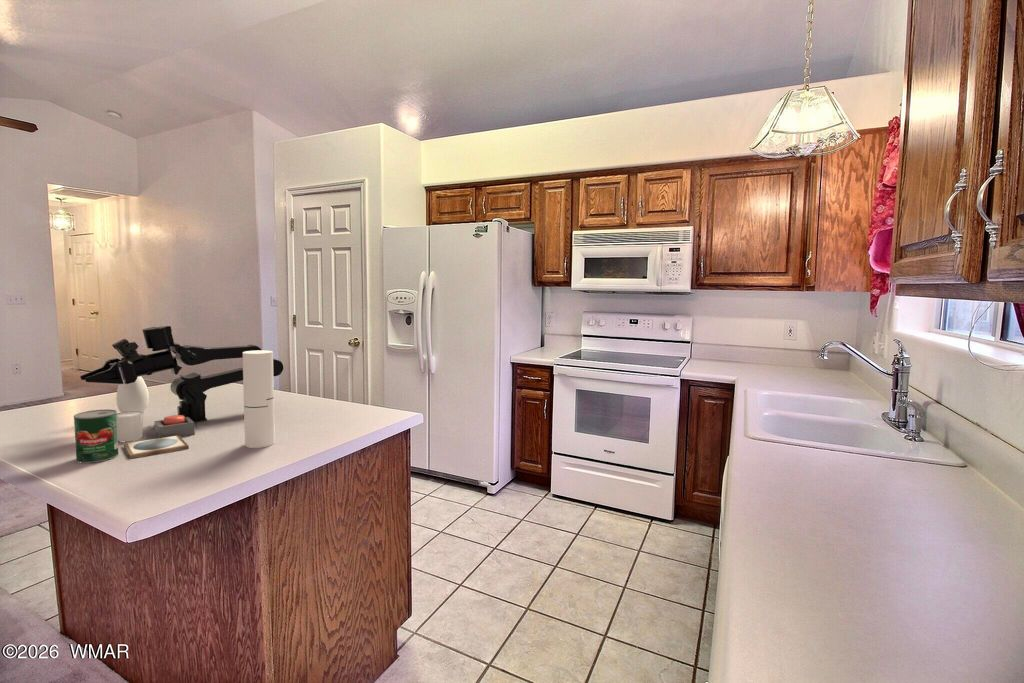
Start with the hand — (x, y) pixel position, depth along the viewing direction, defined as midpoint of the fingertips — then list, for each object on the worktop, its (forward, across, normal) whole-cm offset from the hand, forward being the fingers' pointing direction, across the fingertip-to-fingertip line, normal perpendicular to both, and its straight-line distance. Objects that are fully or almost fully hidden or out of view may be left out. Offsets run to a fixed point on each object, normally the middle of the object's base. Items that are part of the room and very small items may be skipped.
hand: (83, 379), depth 131 cm
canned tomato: (+4, +21, +18) cm, 28 cm away
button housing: (-14, +11, +20) cm, 27 cm away
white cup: (-4, +8, +18) cm, 20 cm away
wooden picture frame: (-8, +22, +19) cm, 30 cm away
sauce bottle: (-10, -16, +17) cm, 26 cm away
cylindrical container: (-27, +36, +24) cm, 51 cm away
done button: (-15, +11, +17) cm, 25 cm away
